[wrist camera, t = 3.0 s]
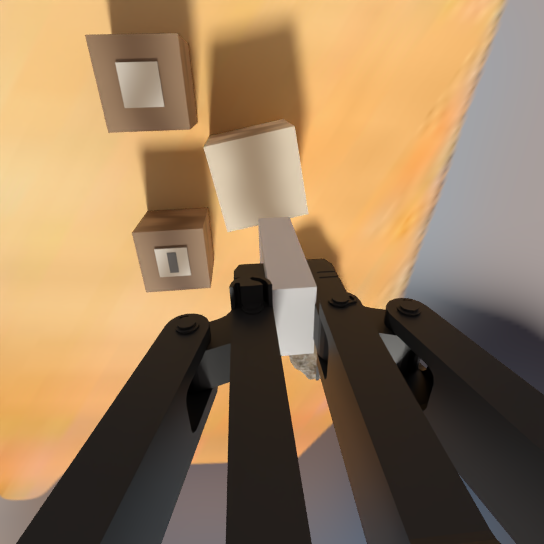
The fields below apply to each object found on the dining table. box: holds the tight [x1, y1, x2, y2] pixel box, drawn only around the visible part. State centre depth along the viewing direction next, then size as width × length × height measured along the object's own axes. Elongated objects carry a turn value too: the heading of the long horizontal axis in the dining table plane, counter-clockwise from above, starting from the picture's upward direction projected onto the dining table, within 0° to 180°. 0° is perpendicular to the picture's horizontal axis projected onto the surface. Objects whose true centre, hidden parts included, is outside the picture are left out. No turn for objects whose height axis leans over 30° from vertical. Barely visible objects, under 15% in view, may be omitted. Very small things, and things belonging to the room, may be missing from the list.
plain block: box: [204, 119, 308, 232], centre depth 30 cm, size 7×7×7 cm
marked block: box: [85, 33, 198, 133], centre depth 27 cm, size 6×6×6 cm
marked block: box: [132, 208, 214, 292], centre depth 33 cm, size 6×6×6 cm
